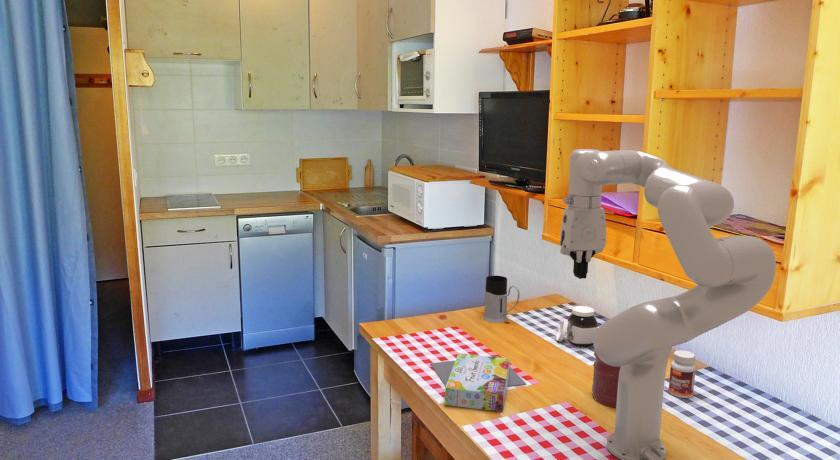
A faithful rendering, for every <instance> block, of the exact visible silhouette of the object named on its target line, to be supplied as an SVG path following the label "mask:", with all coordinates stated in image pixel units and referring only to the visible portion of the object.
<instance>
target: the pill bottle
mask: <svg viewBox="0 0 840 460" xmlns="http://www.w3.org/2000/svg"><path fill="white" fill-rule="evenodd" d="M695 359H696V355H695V353H693V352H691V351H689V350H676V351H674V352H673V360H672V361H671V363H670V372H669V380H668V381H669V382H668V392H669V394H670V395H672V396H673V397H677V398H681V399H690V398H692V396H694V388H695V387H694V386H695V380H696V379H695V378H696V370H697V369H696V368H697V367H696V364H695Z"/></svg>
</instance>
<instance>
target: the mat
mask: <svg viewBox="0 0 840 460" xmlns="http://www.w3.org/2000/svg"><path fill="white" fill-rule="evenodd" d="M495 357H498V358H502V357H501V356H500V355H499V356H498V355H497V356H495ZM455 361H456V360H450V361H438V362H437V361H436V362H431V363H429V364H430V366H431V368H432V369H433V371H435V373H436V374H437V376H438V378H439V379H440V380H441V382H442V384H443V386H445V387H446V385H447V382H448V379H449V377H450V374H451V371H452V369H453V366H454V363H455ZM519 386H527V382H526V381H524V379H523V378H522V377H521V376H520V375H519V374H518V373H516V371H515V370H514V369H513V368H512V367H511V366H510V373H509V380H508V385H507V388H511V387H519Z"/></svg>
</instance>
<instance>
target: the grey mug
mask: <svg viewBox="0 0 840 460" xmlns="http://www.w3.org/2000/svg"><path fill="white" fill-rule="evenodd" d="M512 288H515V289H516V291H517V299H516V302H515V303H514V305H513V307H511V308H509V310H507V309H508V308H507V307H508V297H509V296H510V294H511V293H510V292H511V289H512ZM519 289H520V288H518V287H517V285H516V286H515V285H511V286H509V288H508V278H507V277H506V276H503V275H502V276H501V275H489V276H488V275H487V276H486V277H485V287H484V292H485V293H484V315H483V319H482V320H484V321H486V322H488V323H494V324H495V323H497V324H499V323H505V322H507V321H508V316H507V314H508V313H509V312H510V311H512V310H513V309H514V308H516V307H517V304H518V303H519V302H520V290H519Z"/></svg>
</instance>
